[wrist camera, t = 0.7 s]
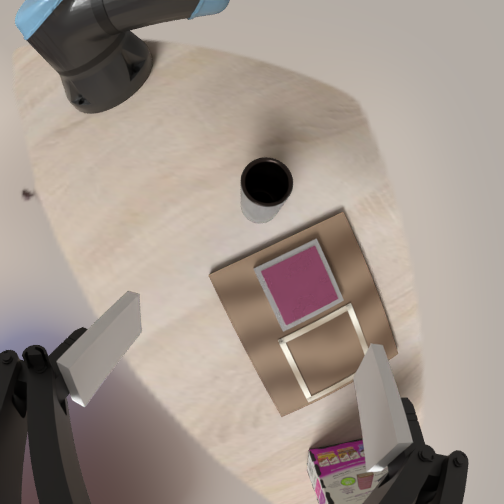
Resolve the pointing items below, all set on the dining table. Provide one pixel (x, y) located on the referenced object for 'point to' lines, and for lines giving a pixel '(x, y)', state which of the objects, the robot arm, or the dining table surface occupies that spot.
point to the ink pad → (299, 284)
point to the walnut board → (312, 330)
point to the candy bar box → (341, 473)
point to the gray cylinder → (264, 189)
